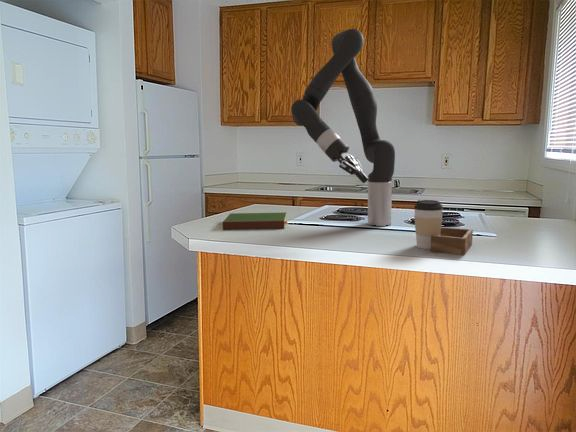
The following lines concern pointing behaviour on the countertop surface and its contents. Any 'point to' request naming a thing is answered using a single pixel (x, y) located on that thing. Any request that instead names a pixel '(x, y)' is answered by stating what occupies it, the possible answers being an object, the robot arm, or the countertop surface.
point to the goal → (452, 241)
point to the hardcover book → (254, 221)
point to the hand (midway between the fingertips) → (366, 181)
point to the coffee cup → (427, 221)
